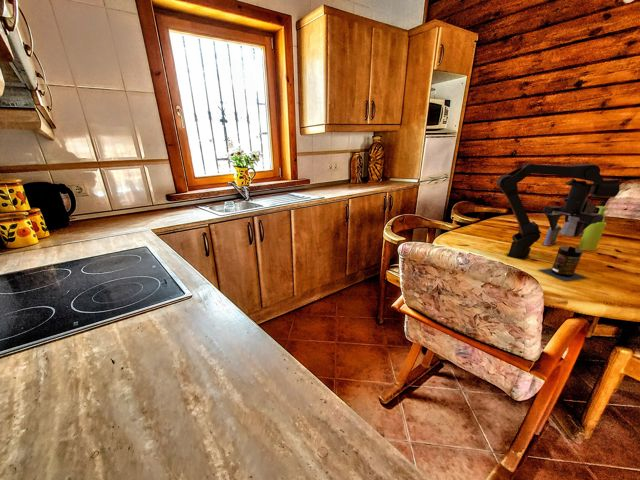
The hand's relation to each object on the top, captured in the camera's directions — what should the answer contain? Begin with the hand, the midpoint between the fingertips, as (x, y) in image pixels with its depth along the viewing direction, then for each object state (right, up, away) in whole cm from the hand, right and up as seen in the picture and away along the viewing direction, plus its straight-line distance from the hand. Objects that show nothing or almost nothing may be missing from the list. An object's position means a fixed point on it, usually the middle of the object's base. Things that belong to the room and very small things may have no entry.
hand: (563, 233), depth 118 cm
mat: (-9, -17, -8) cm, 21 cm away
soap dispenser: (+24, -6, +14) cm, 29 cm away
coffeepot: (+35, +3, +32) cm, 48 cm away
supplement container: (-9, -17, -8) cm, 21 cm away
